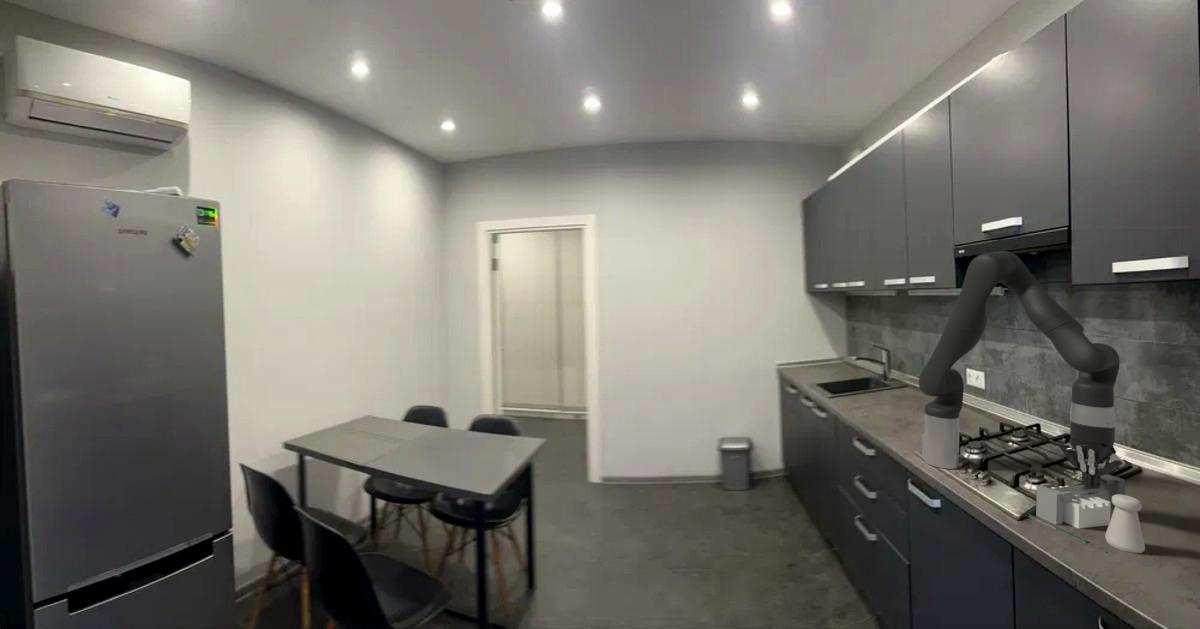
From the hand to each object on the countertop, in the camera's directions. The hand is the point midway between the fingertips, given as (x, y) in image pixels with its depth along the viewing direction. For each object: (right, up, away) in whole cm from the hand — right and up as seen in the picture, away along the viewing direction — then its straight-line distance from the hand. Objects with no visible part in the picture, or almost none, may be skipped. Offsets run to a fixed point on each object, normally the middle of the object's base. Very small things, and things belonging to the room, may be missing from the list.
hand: (1091, 487), depth 109 cm
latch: (+5, -7, +1) cm, 9 cm away
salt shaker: (-6, -10, -12) cm, 17 cm away
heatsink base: (-3, -9, 0) cm, 9 cm away
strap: (-4, -1, 0) cm, 5 cm away
